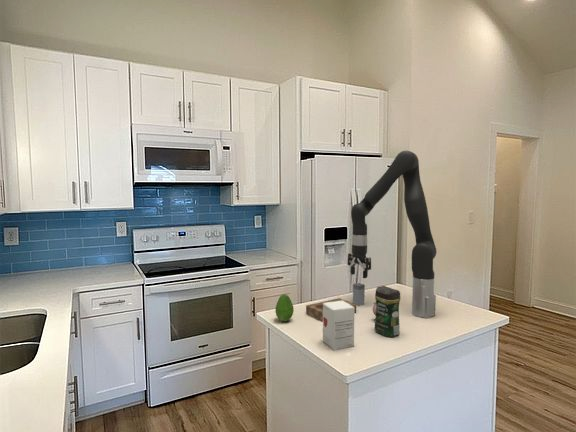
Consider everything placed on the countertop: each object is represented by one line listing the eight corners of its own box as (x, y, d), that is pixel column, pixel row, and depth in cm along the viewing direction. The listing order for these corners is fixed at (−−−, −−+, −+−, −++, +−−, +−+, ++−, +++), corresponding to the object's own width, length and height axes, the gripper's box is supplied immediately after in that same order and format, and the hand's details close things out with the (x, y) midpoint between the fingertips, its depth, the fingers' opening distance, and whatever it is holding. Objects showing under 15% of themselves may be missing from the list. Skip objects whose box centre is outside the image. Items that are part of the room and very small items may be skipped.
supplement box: (321, 340, 143) (322, 302, 142) (342, 337, 147) (342, 299, 145) (333, 350, 135) (333, 309, 134) (354, 346, 138) (355, 306, 137)
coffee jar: (371, 330, 153) (371, 286, 151) (385, 327, 157) (385, 283, 155) (388, 339, 145) (389, 291, 143) (403, 334, 149) (404, 288, 147)
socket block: (356, 313, 174) (356, 303, 174) (322, 321, 163) (322, 311, 163) (339, 306, 184) (339, 297, 184) (306, 313, 173) (306, 304, 173)
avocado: (279, 325, 159) (279, 297, 158) (273, 319, 167) (272, 292, 166) (296, 322, 162) (296, 295, 161) (289, 316, 170) (289, 290, 169)
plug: (364, 304, 186) (364, 284, 186) (358, 305, 184) (358, 285, 183) (358, 302, 190) (358, 283, 189) (352, 303, 188) (353, 284, 187)
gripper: (375, 245, 181) (374, 278, 182) (355, 241, 192) (354, 272, 194) (364, 246, 176) (363, 280, 178) (344, 242, 188) (343, 274, 190)
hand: (358, 276), depth 186 cm, fingers open, 8 cm apart
